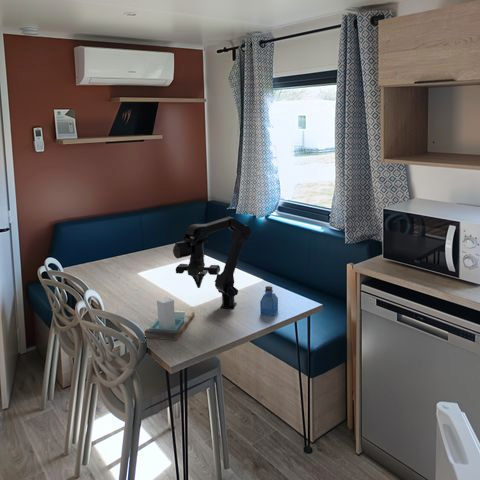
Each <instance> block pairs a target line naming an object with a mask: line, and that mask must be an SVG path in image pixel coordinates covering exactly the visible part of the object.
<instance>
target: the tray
mask: <svg viewBox="0 0 480 480" xmlns="http://www.w3.org/2000/svg"><path fill="white" fill-rule="evenodd" d="M174 311H175V325H176V328H175V329H160V328H159V322H158V318H157V319H156V320H157V321H156V320H155V321H156V322H155V321H154V322H153V324H152V325H151V326H150V327H149V328H148V329H149V330H163V331H178V330H179V329H180V328H181V326H182V325H183V324H184V323H185V321H186V320H187V319H188V318H185V316H186V311H185V310H174Z"/></svg>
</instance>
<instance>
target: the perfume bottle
mask: <svg viewBox="0 0 480 480" xmlns="http://www.w3.org/2000/svg"><path fill="white" fill-rule="evenodd" d="M264 288H265V289H264V294H263V295H262V297H261V299H260V301H259V302H260V303H259V305H260V307H259V309H260V310H259V311H260V315H261V314H262V316H269V315H270V317H274V316H275V315H276V314H277V313H278V312H279V299H278V298H279V297H278V296H277V295H276V293H274V289H273V286H271V285H268V286H265V287H264ZM277 311H278V312H277Z"/></svg>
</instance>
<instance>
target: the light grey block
mask: <svg viewBox="0 0 480 480" xmlns="http://www.w3.org/2000/svg"><path fill="white" fill-rule="evenodd" d="M156 306H157V319H158V322H159V328H160V329H175V328H176V325H175V311H176V310H175V300H174V299H172V298H171V297H168V296H166V297H163V298H159V299H156Z"/></svg>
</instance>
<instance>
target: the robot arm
mask: <svg viewBox="0 0 480 480" xmlns="http://www.w3.org/2000/svg"><path fill="white" fill-rule="evenodd" d="M227 228H228V229H229V230H231V240H232V243H231V246H230V250H229V252H228V255H227V258H226V261H225V265H224V267H223V270H222V272H221V266H220V265H219V264H211V265H209V266H206V263H205V254H204V253H205V252H204V244H205V243H209V242H208V240H207V239H205V238H206V237H208V235H210V234H211V233H215V232H218V231H221V230H224V229H227ZM186 230H187V231H186V232H185V234H184V235H183V237H182V241H177V242H175V245H174V246H173V249H172V253H173V256H174V257H175V258H176V259H177V260H178V259H182V258H187V257H189V256H190V257H189V262H188V263H180V264H178V265H177V266H176V267H175V274H183V273H185V272H187V275H188V276H191V277H192V279H193V280H194V283H195V285H196V287H197V288H198V289H200V288H201V286H202V282H203V279H204V277H205V276H206V275H207V274H208V275H210V276H216V277H215V281H214V286H215V289H216V290H217V291H218V293H220V294H221V302H222V303H221V305H220V308H221V309H232V310H233V309H235V307H236V305H237V302H235V297H236V296H237V295H238V293H239V289H237V288H236V287H235V286H234V285H235V277H234V274H235V271H236V268H237V265H238V261H239V258H240V255H241V252H242V250H243V246H244V245H245V243H247V241H249V238H250V236H251V234H252V230H251V227H250V226H249V225H246V224H244V223H242V222H240V221H238V220H237V219H236V218H235V217H231V216H226V217H223V218H220V219H216V220H214V221H211V222H206V223H194V224H190V225H188V227H187V229H186ZM220 272H221V273H220Z"/></svg>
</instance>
